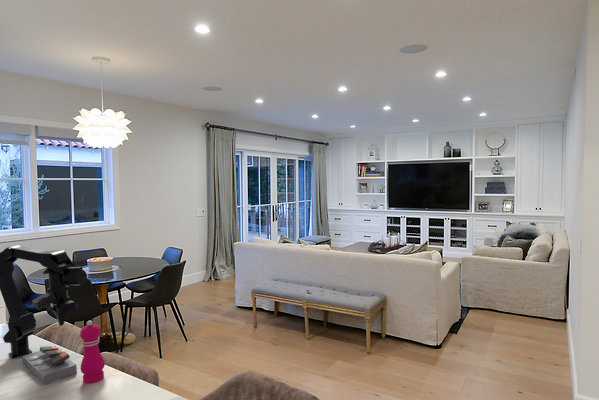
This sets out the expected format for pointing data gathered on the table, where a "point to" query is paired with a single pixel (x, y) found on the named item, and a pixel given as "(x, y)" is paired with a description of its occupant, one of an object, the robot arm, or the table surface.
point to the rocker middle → (53, 353)
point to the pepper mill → (91, 354)
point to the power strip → (47, 367)
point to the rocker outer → (59, 358)
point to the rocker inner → (48, 348)
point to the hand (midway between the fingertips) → (61, 325)
